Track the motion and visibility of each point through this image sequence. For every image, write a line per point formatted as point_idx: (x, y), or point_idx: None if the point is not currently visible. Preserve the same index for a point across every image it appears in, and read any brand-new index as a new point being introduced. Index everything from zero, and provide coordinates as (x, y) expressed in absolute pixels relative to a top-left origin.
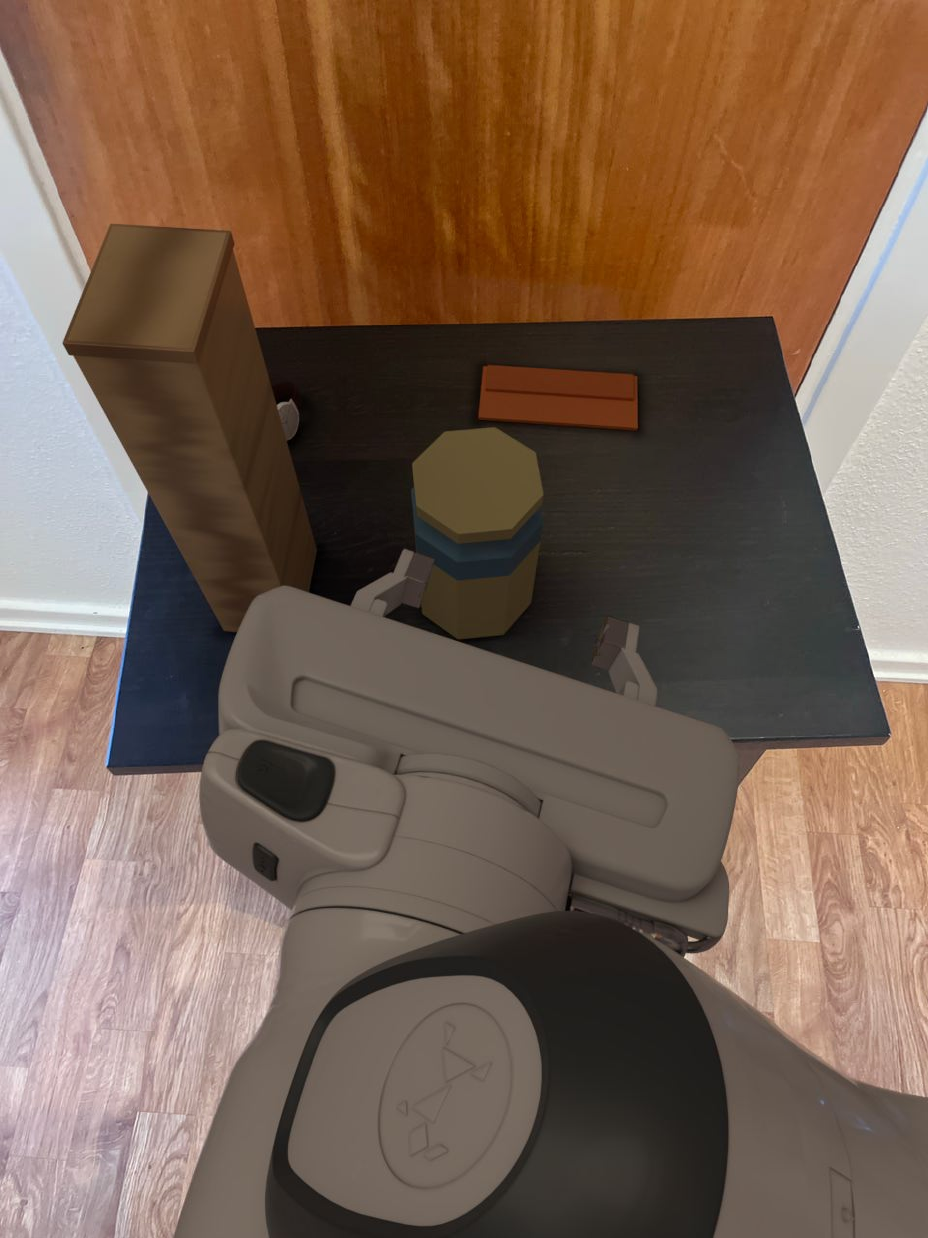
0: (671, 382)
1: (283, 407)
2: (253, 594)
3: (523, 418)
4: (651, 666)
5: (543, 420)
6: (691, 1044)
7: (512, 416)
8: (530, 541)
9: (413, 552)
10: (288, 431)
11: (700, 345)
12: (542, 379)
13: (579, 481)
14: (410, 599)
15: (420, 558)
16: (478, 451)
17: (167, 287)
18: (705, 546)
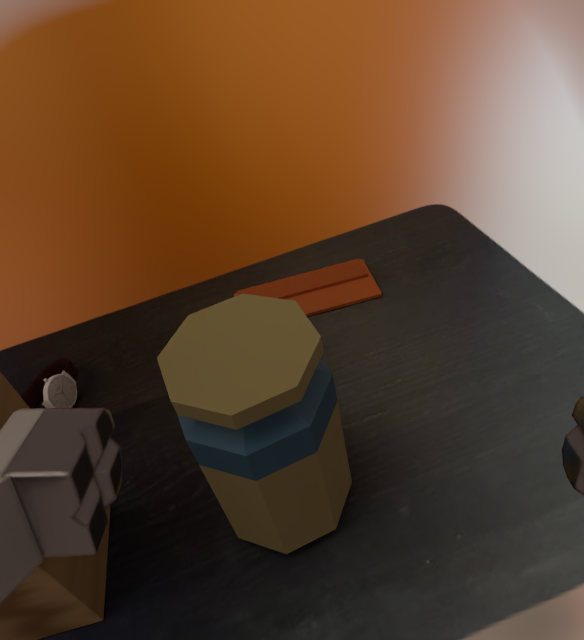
0: (392, 255)
1: (55, 379)
2: (14, 592)
3: None
4: (511, 505)
5: None
6: None
7: None
8: (326, 402)
9: (43, 408)
10: (67, 400)
11: (401, 225)
12: (286, 286)
13: (350, 351)
14: (59, 538)
15: (62, 416)
16: (231, 321)
17: None
18: (494, 365)
